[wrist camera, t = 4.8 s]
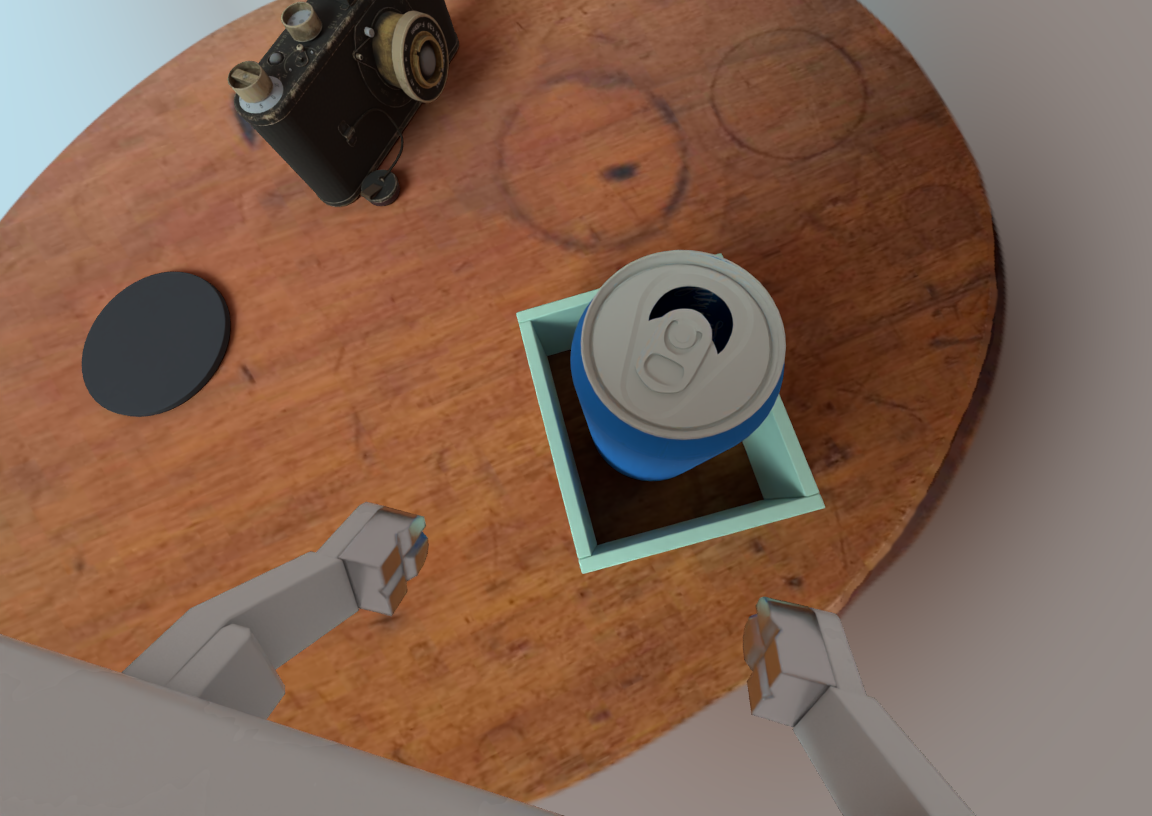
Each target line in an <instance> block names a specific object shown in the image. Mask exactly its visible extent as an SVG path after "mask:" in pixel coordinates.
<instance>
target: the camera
mask: <svg viewBox="0 0 1152 816" xmlns="http://www.w3.org/2000/svg"><path fill="white" fill-rule="evenodd" d="M281 21H282V23H283V25H284V26H285V28H286V29H285V30H284V31H283V32H282V34H281V35H280V36H279V37H278V39H277V40H276V41H275V43H274V44H273V45H272V46H271V48H270V49H269V50H268V52H267V53H266V54H265V55H264V57H263V58H262V59H261V61H260V62H259V63H256V62H254V61H245V62H242V63H240V64H238V65H236V66H235V67H234V68H233V69H232V70H231V71H230V73H229V75H228V79H227V80H228V84H229V85H230V86H231V87H232V88H233V90H234V91H235V92H236V94H235V98H234V105H235V108H236V110H237V112H238V113H239V114H240V115H241V116H242V118H243V119H244V120H246V121H247V122H248V123H250V124H251V125H252V127H253V128H254V129H255V130H256V131H257V132H258V133H259V134H260V135H261V136H262V137H263V138H264V139H265V140H266V141H267V142H268V143H269V144H270V145H271V146H272V148H273V149H274V150H275V151H276V152H277V153H278V154H279V155H280V156H281V157H282V158H283V159H284V160H285V161H286V162H287V163H288V164H289V165H290V166H291V168H292V169H293V170H294V171H295V172H296V173H297V174H298V175H299V176H300V177H301V178H302V179H303V180H304V181H305V182H306V183H307V184H308V185H309V186H310V188H311V189H312V190H313V191H314V192H315V193H316V194H317V196H318V197H319V198H320V199H321V200H322V201H323V202H324V203H326V204H327V205H330V206H335V207H340V206H345V205H348V204H350V203H352V202H353V201H354V200H356V199H357V198H358V196H359V195H360V193H361V196H362V197H364V198H365V199H366V200H368V201H370V202H371V203H372V204H374V205H376V206H386V205H388V204H390V203H392V202H393V201H394V200H395V199H396V198H397V197H398V195H399V192H400V186H399V183H398V180H397V177H396V176H395V175H394V174H393V173H392V172H390V171H391V170H392V169H393V167H394V166H395V164H396V163H397V161H398V159H399V158H400V156H401V153H402V150H403V136H402V134H401V133H402V131H403V130H404V128H405V127H406V125H407V124H408V122H409V121H410V119H411V118H412V117H413V115H414V114H415V112H416V111H417V109H418V108H419V106H420V105H421V103H422V102H424V103H430V102H433V101H435V100H436V99H437V98H438V97H439V96H440V94H441V93H442V91H443V89H444V86H445V84H446V80H447V76H448V64H449V62H450V61H451V59H452V58H453V56H454V55H455V53H456V52H457V50H458V47H459V41H458V37H457V34H456V33H455V31H454V28H453V25H452V22H451V19H450V16H449V13H448V10H447V7H446V4H445V1H444V0H307V2H297V3H294V4H292V5H290V6H288V7H287V8H286V9H285V10H284V11H283V13H282V16H281ZM399 136H400V137H401V149H400V152H399V154H398V156H397V158H396V160H395V161H394V163H393V164H392V166H391V167H390V169H389V170H377V168H378V167H379V165H380V164H381V162H382V161H383V159H384V158H385V156H386V155H387V153H388V152H389V150H390V149H391V147H392V146H393V145H394V143H395V142H396V140H397V139H398V137H399Z"/></svg>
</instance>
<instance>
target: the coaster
mask: <svg viewBox="0 0 1152 816" xmlns="http://www.w3.org/2000/svg"><path fill="white" fill-rule="evenodd" d="M229 335H230V316H229V311H228V307H227V304H226V302H225V300H224V298H223V297H222V295H221V294H220V292H219V291H218V290H217V289H216V288H215V287H214V286H213V285H212V284H210V283H209V282H207V281H206V280H204V279H202V278H200V277H198V276H196V275H193V274H189V273H184V272H164V273H159V274H154V275H151V276H148V277H146V278H143V279H141V280H139V281H137V282H135V283H133V284H132V285H130V286H128V287H127V288H125V289H124V290H123V291H121V292H120V293H119V294H117V295H116V296H115V297H114V298H113V299H112V300H111V301H110V302H109V303H108V304H107V305H106V306H105V307H104V309H103V310H102V311H101V313H100V314H99V315H98V317H97V318H96V320H95V322H94V323H93V325H92V327H91V329H90V331H89V333H88V336H87V339H86V341H85V345H84V349H83V355H82V373H83V379H84V382H85V385H86V387H87V389H88V391H89V393H90V395H91V396H92V397H93V398H94V400H95V401H96V402H98V403H99V404H100V405H101V406H102V407H104V408H106V409H107V410H109V411H112V412H114V413H117V414H122V415H127V416H137V417H142V416H151V415H155V414H160V413H163V412H165V411H168V410H171V409H173V408H175V407H177V406H179V405H180V404H182V403H184V402H185V401H187V400H188V399H190V398H191V397H192V396H193V395H195V394H196V393H197V392H198V391H199V390H200V389H201V388H202V387H203V386H204V385H205V384H206V383H207V382H208V381H209V379H210V378H211V377H212V375H213V374H214V373H215V371H216V370H217V368H218V366H219V364H220V362H221V361H222V359H223V356H224V354H225V351H226V348H227V345H228V341H229Z"/></svg>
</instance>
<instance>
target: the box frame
mask: <svg viewBox="0 0 1152 816" xmlns="http://www.w3.org/2000/svg"><path fill="white" fill-rule="evenodd" d="M716 256H719V257H722V258H723V256H722V254H721V253H720V254H716ZM599 289H600V288H599ZM599 289H596V290H593V291H589V292H586V293H582V294H579V295H575V296H572V297H569V298H565V299H562V300H558V301H555V302H551V303H548V304H544V305H541V306H538V307H534V308H531V309H527V310H524V311H520V312H517V314H516V315H517V319H518V323H519V327H520V331H521V335H522V338H523V342H524V346H525V350H526V354H527V358H528V362H529V366H530V370H531V374H532V378H533V382H534V386H535V390H536V394H537V398H538V402H539V406H540V410H541V414H542V417H543V421H544V425H545V429H546V433H547V437H548V441H549V445H550V449H551V453H552V457H553V461H554V465H555V469H556V473H557V477H558V481H559V485H560V489H561V493H562V496H563V500H564V504H565V508H566V512H567V516H568V520H569V524H570V528H571V532H572V536H573V540H574V544H575V548H576V552H577V556H578V558H579V564H580V568H581V572H582V573H583V574H584V573H588V572H592V571H595V570H599V569H603V568H606V567H610V566H614V565H617V564H621V563H625V562H628V561H632V560H636V559H639V558H643V557H647V556H650V555H654V554H658V553H661V552H665V551H669V550H672V549H676V548H680V547H683V546H687V545H691V544H694V543H698V542H702V541H706V540H709V539H713V538H717V537H720V536H724V535H728V534H731V533H735V532H739V531H742V530H746V529H750V528H753V527H757V526H761V525H764V524H768V523H772V522H775V521H779V520H783V519H786V518H790V517H794V516H797V515H801V514H805V513H808V512H812V511H816V510H819V509H823V508H825V505H824V503H823V500H822V498H821V495H820V494H818V493H819V490H818V488H817V485H816V483H815V480H814V478H813V475H812V473H811V471H810V468H809V466H808V463H807V461H806V458H805V456H804V453H803V451H802V449H801V446H800V444H799V441H798V439H797V436H796V434H795V431H794V429H793V427H792V424H791V422H790V419H789V417H788V414H787V412H786V410H785V407H784V405H783V402H782V400H781V397H780V395H779V394H778V397H777V399H776V402H775V404H774V406H773V408H772V409H771V411H770V413H769V414H768V416H767V417H766V419H765V420H764V421H763V422H762V424H761V425H760V426H759V427H758V428H757V429H756V430H755V431H754V432H753V433H752V434H751V435H750V436H749V437H747V438H746V439H744V440H743V441H742V442H743V445H744V447H745V450H746V453H747V455H748V458H749V461H750V463H751V466H752V469H753V471H754V474H755V477H756V479H757V482H758V485H759V487H760V490H761V493H762V495H763V498H764V500H760V501H757V502H753V503H749V504H746V505H742V506H738V507H735V508H731V509H727V510H724V511H720V512H716V513H713V514H709V515H706V516H702V517H698V518H695V519H691V520H687V521H684V522H680V523H676V524H673V525H669V526H665V527H662V528H658V529H654V530H651V531H647V532H643V533H640V534H636V535H633V536H629V537H625V538H622V539H618V540H614V541H611V542H607V543H603V544H600V545H597V542H596V538H595V534H594V531H593V527H592V523H591V519H590V516H589V512H588V508H587V504H586V501H585V497H584V493H583V489H582V486H581V482H580V478H579V474H578V471H577V467H576V463H575V459H574V456H573V452H572V448H571V444H570V441H569V437H568V433H567V429H566V426H565V422H564V418H563V414H562V411H561V407H560V403H559V399H558V396H557V392H556V388H555V384H554V381H553V377H552V373H551V369H550V365H549V362H548V358H547V356H549V355H553V354H556V353H560V352H563V351H567V350H570V349H571V345H572V341H573V336H574V333H575V330H576V327H577V324H578V322H579V320H580V318H581V316H582V314H583V312H584V310H585V309H586V307H587V306H588V304H589V303H590V302H591V300H592V299H593V298H594V296H595V295H596V293H597V292H598V291H599Z"/></svg>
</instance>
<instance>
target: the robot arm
mask: <svg viewBox="0 0 1152 816" xmlns="http://www.w3.org/2000/svg"><path fill="white" fill-rule="evenodd" d="M425 526H426V524H425V519H424V517H423V516H420V515H416V514H412V513H408V512H404V511H401V510H397V509H393V508H389V507H386V506H382V505H378V504H374V503H369V502H365V503H363V504H361V505H359V506H358V507H357V508H356V509H355V510H354V512H353V513H352V514H351V515H350V516H349V517H348V518H347V519H346V520H345V521H344V522H343V524H342V525H341V526H340V527H339V528H338V529H337V530H336V531H335V532H334V533H333V535H332V536H331V537H330V538H329V539H328V540H327V541H326V542H325V543H324V544H323V545H322V547H321V548H320V549H319V550H318V551H317V552H316V553H315V552H311V551H310V552H308V553H306V554H304V555H302V556H300V557H298V558H295V559H293V560H291V561H289V562H287V563H285V564H283V565H281V566H279V567H277V568H274V569H272V570H270V571H268V572H266V573H264V574H262V575H260V576H258V577H256V578H253V579H251V580H249V581H247V582H245V583H243V584H241V585H239V586H237V587H235V588H232V589H230V590H228V591H226V592H224V593H222V594H220V595H218V596H216V597H214V598H211V599H209V600H207V601H205V602H203V603H201V604H199V605H197V606H195V607H193V608H190V609H189V610H188V611H187V612H186V613H185V614H184V615H183V616H182V617H181V618H180V619H179V620H177V621H176V622H175V623H174V624H173V625H172V626H171V627H170V628H169V629H168V630H167V631H166V632H165V633H164V634H162V635H161V636H160V637H159V638H158V639H157V640H156V641H155V642H154V643H153V644H152V645H151V646H150V647H148V648H147V649H146V650H145V651H144V652H143V653H142V654H141V655H140V656H139V657H138V658H137V659H136V660H134V661H133V662H132V663H131V664H130V665H129V666H128V667H127V668H126V669H125V670H124V671H123V672H122V673H120V672H117V671H114V670H111V669H107V668H104V667H101V666H98V665H95V664H92V663H89V662H86V661H83V660H80V659H76V658H73V657H70V656H67V655H64V654H61V653H58V652H55V651H52V650H48V649H45V648H42V647H39V646H36V645H33V644H30V643H27V642H23V641H20V640H17V639H14V638H11V637H8V636H5V635H2V634H0V816H563V815H560V814H557V813H554V812H551V811H548V810H545V809H542V808H539V807H535V806H532V805H529V804H526V803H523V802H520V801H517V800H514V799H511V798H508V797H504V796H501V795H498V794H495V793H492V792H489V791H486V790H483V789H480V788H477V787H473V786H470V785H467V784H464V783H461V782H458V781H455V780H452V779H449V778H446V777H442V776H439V775H436V774H433V773H430V772H427V771H424V770H421V769H418V768H414V767H411V766H408V765H405V764H402V763H399V762H396V761H393V760H390V759H387V758H383V757H380V756H377V755H374V754H371V753H368V752H365V751H362V750H359V749H356V748H352V747H349V746H346V745H343V744H340V743H337V742H334V741H331V740H328V739H325V738H321V737H318V736H315V735H312V734H309V733H306V732H303V731H300V730H297V729H294V728H290V727H287V726H284V725H281V724H278V723H275V722H272V721H269V720H266V719H267V718H268V717H269V715H270V714H271V712H272V711H273V710H274V708H275V707H276V705H277V704H278V703H279V701H280V700H281V698H282V697H283V696H284V694H285V685H284V684H283V682H282V680H281V679H280V677H279V675H278V674H277V672H276V671H275V670H276V669H277V668H278V667H280V666H281V665H283V664H284V663H285V662H287V661H288V660H290V659H291V658H293V657H294V656H295V655H297V654H298V653H300V652H301V651H302V650H304V649H305V648H307V647H308V646H309V645H311V644H312V643H314V642H315V641H316V640H318V639H319V638H321V637H322V636H323V635H325V634H326V633H328V632H329V631H330V630H332V629H333V628H335V627H336V626H337V625H339V624H340V623H342V622H343V621H344V620H346V619H347V618H349V617H350V616H351V615H353V614H354V613H356V612H357V611H358V610H359V609H358V608H361V609H365V610H369V611H373V612H377V613H381V614H385V615H390V616H392V615H393V614H394V612H395V610H396V609H397V607H398V606H399V604H400V602H401V601H402V599H403V598H404V596H405V594H406V593H407V581H409V580H410V579H412V578H414V577H415V576H417V575H418V573H419V572H420V570H421V568H422V567H423V565H424V562H425V559H426V557H427V554H428V546H429V544H428V538H427V537H426V535H425V534H424V533H423V532H422V531H423V529H424V528H425ZM756 610H757V614H755V615H753V616H750V617H749V619H748V621H747V623H746V625H745V629H744V635H743V652H744V660H745V661H746V663H747V664H748V666H749V667H750V669H751V670H752V674H751V675H750V677H749V679H748V680H747V685H748V692H749V700H750V706H751V714H752V715H754V716H758V717H761V718H764V719H768V720H771V721H774V722H777V723H781V724H784V725H787V726H791V727H794V728H793V731H794V733H795V735H796V736H797V738H798V740H799V741H800V743H801V745H802V746H803V748H804V750H805V751H806V753H807V755H808V757H809V758H810V760H811V762H812V764H813V765H814V767H815V769H816V770H817V772H818V774H819V776H820V777H821V779H822V781H823V782H824V784H825V786H826V787H827V789H828V791H829V793H830V794H831V796H832V798H833V800H834V801H835V803H836V804H837V806H838V808H839V810H840V811H841V813H842V815H843V816H976V815H975V814H974V812H973V811H972V810H971V809H970V808H969V807H968V806H967V804H966V803H965V802H964V801H963V800H962V799H961V797H960V796H959V795H958V794H957V793H956V792H955V790H954V789H953V788H952V787H951V786H950V785H949V783H948V782H947V781H946V780H945V779H944V778H943V776H942V775H941V774H940V773H939V772H938V771H937V770H936V768H935V767H934V766H933V765H932V764H931V763H930V762H929V760H928V759H927V758H926V757H925V756H924V754H923V753H922V752H921V751H920V750H919V749H918V747H917V746H916V745H915V744H914V743H913V742H912V741H911V739H910V738H909V737H908V736H907V735H906V734H905V732H904V731H903V730H902V729H901V728H900V727H899V726H898V724H897V723H896V722H895V721H894V720H893V718H891V716H890V715H889V714H888V713H887V711H886V710H885V709H884V708H883V707H882V706H881V705H880V703H879V702H878V701H877V700H876V699H875V698H873V697H870V696H867V694H866V691H865V689H864V686H863V683H862V680H861V677H860V674H859V671H858V669H857V666H856V663H855V660H854V657H853V655H852V652H851V649H850V646H849V643H848V640H847V637H846V634H845V632H844V629H843V626H842V623H841V620H840V618H839V617H838V616H837V615H836V614H835V613H832V612H827V611H823V610H818V609H814V608H809V607H808V606H804V605H799V604H795V603H790V602H786V601H781V600H777V599H772V598H768V597H762V598H760V599H759V601H758V602H757V604H756Z"/></svg>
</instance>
